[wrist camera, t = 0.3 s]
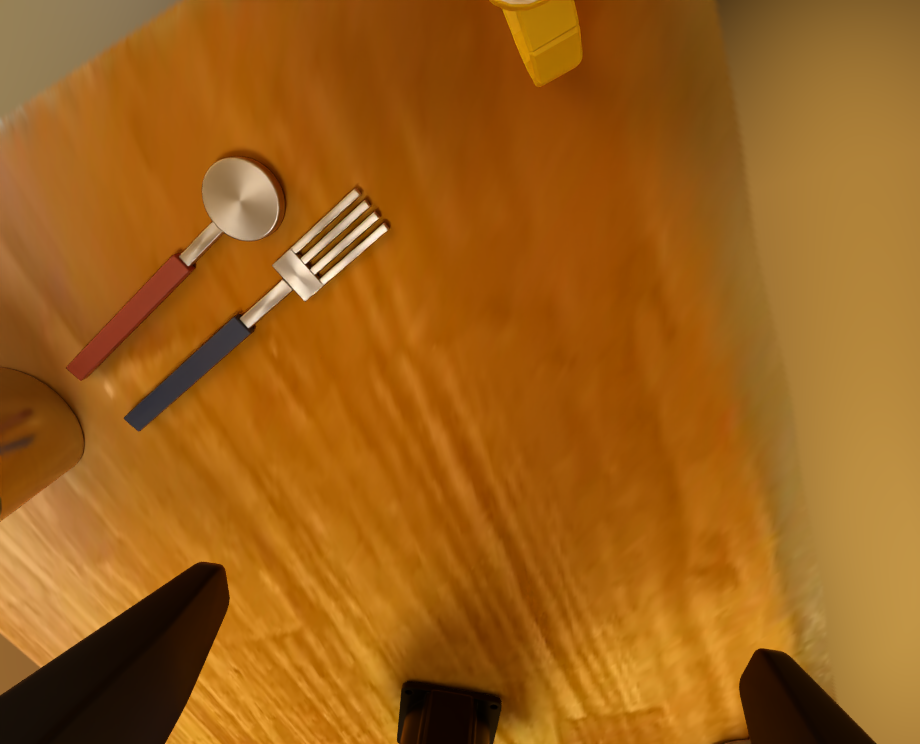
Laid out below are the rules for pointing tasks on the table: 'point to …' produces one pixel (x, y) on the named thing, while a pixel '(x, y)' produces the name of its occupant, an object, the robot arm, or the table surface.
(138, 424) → the fork
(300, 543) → the table surface
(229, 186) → the spoon
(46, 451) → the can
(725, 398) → the table surface
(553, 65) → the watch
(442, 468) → the table surface
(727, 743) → the travel mug
